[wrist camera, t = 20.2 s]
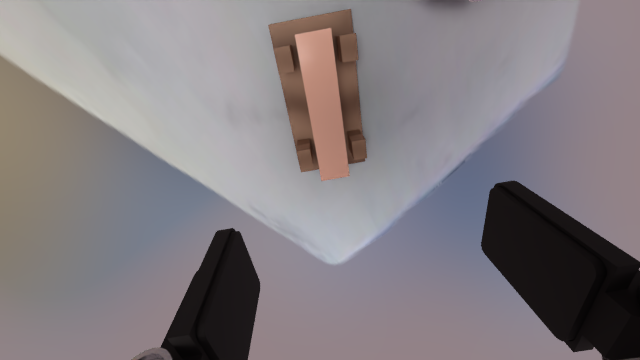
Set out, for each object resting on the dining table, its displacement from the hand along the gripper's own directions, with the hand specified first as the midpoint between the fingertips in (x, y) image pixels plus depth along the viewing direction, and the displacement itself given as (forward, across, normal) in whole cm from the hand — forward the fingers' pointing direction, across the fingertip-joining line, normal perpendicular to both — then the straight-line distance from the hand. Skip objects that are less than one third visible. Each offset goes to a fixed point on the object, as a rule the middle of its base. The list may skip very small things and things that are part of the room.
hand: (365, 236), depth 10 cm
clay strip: (+25, 0, 0) cm, 25 cm away
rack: (+26, 0, 0) cm, 26 cm away
